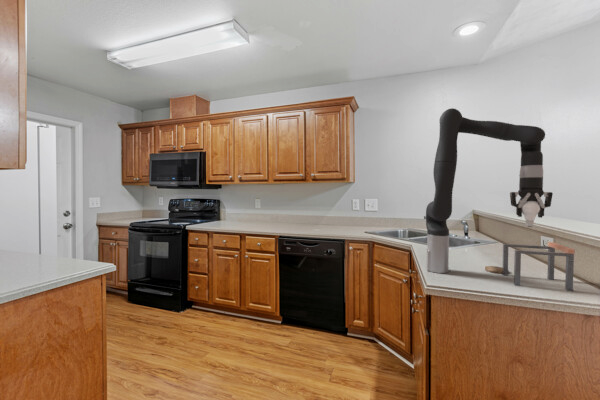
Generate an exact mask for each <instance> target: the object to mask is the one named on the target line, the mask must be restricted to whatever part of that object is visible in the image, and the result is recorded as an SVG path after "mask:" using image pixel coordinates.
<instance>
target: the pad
mask: <svg viewBox="0 0 600 400" xmlns="http://www.w3.org/2000/svg"><path fill="white" fill-rule="evenodd" d="M502 269H503V266H502V267H501V266H495V265H494V266H493V265H488V266H485V268H484V270H485V271H486V272H489V273H493V274H498V275H503V274H502Z"/></svg>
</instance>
